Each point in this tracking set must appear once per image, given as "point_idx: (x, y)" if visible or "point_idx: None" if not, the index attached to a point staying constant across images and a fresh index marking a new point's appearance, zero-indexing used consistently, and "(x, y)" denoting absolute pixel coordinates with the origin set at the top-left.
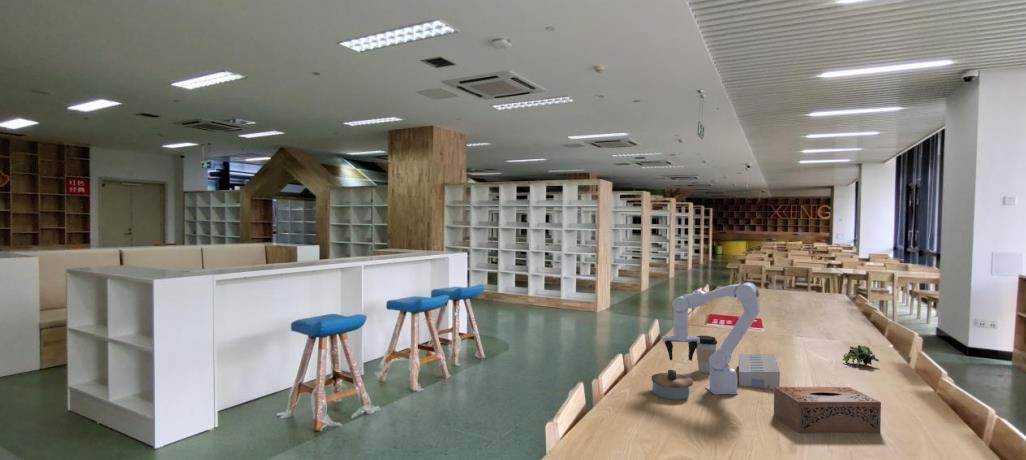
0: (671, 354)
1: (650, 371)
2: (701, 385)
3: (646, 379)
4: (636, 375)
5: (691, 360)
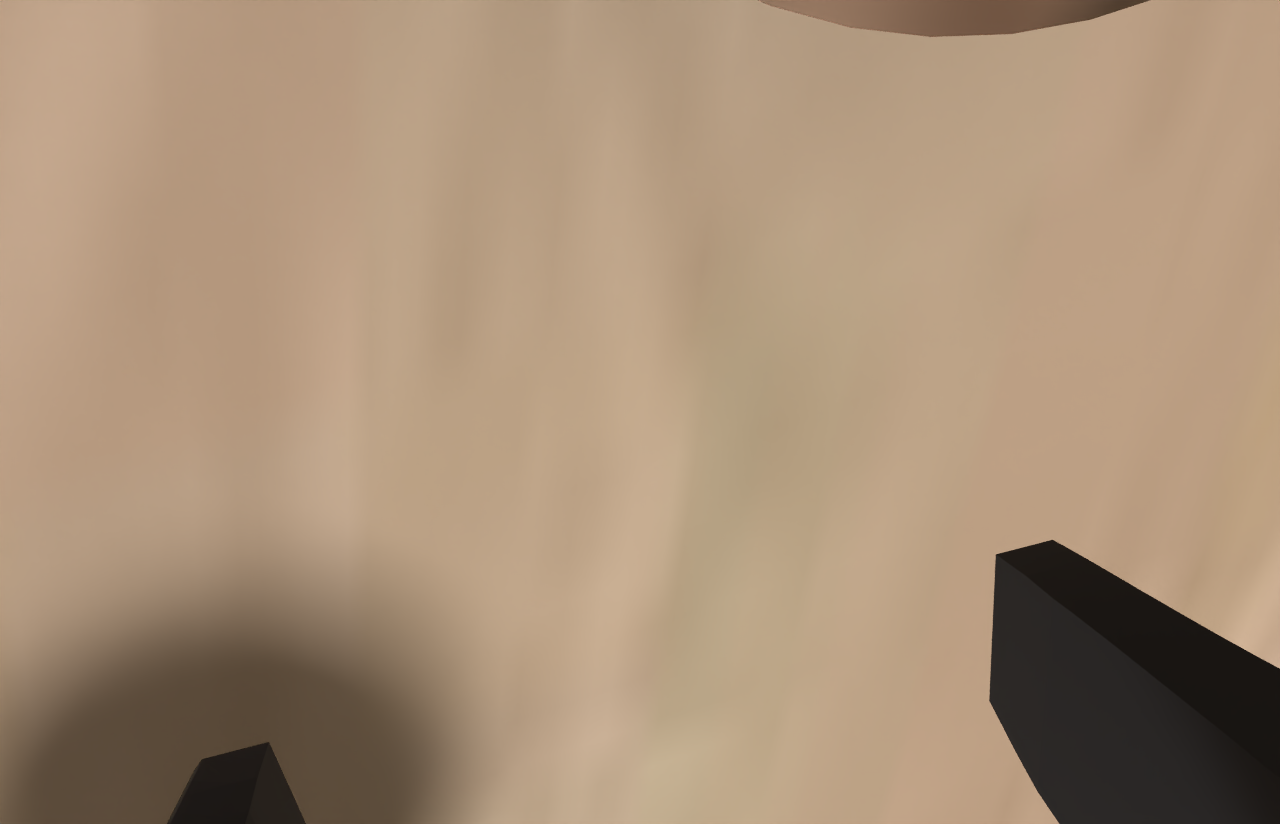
0: (1213, 678)
1: (962, 806)
2: (30, 371)
3: (1147, 397)
4: (1246, 551)
5: (204, 766)
